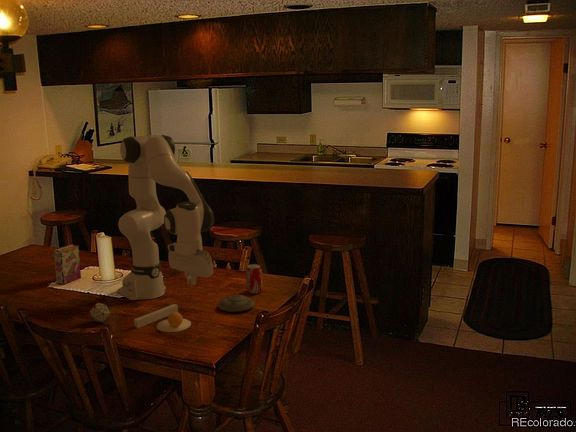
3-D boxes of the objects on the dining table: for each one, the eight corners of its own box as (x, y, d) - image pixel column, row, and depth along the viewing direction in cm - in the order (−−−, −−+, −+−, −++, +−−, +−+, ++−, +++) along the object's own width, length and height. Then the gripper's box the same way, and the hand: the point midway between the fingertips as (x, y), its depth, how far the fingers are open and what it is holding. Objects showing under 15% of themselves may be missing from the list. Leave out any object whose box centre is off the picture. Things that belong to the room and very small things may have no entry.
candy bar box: (64, 285, 273) (60, 251, 269) (56, 283, 275) (52, 250, 271) (82, 278, 282) (78, 245, 279) (74, 276, 285) (71, 244, 281)
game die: (98, 329, 232) (91, 306, 235) (118, 321, 232) (111, 298, 235) (88, 327, 223) (81, 303, 226) (108, 319, 223) (102, 294, 226)
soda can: (260, 295, 256) (259, 268, 254) (244, 294, 258) (243, 268, 255) (264, 289, 263) (263, 263, 260) (249, 288, 264) (248, 263, 262)
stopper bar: (134, 326, 225) (134, 319, 224) (174, 310, 240) (174, 303, 239) (137, 328, 224) (137, 320, 223) (178, 311, 239) (177, 304, 238)
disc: (149, 326, 225) (149, 326, 225) (175, 316, 235) (175, 315, 235) (171, 335, 217) (171, 334, 217) (198, 323, 227) (197, 323, 227)
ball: (171, 313, 220) (177, 327, 220) (182, 308, 225) (187, 322, 224) (162, 316, 223) (168, 330, 223) (173, 311, 228) (178, 325, 228)
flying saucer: (241, 317, 233) (241, 304, 232) (210, 310, 240) (210, 298, 239) (261, 304, 246) (261, 292, 245) (231, 299, 253) (231, 287, 252)
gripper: (216, 250, 207) (218, 287, 210) (177, 241, 220) (179, 276, 223) (203, 254, 203) (205, 292, 206) (164, 245, 215) (166, 280, 218)
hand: (191, 283), depth 214 cm, fingers closed
